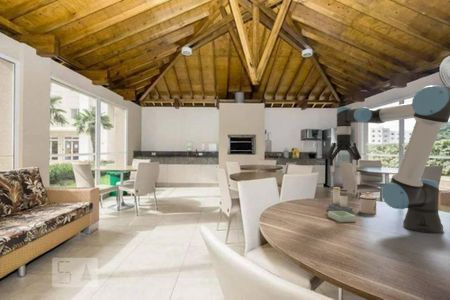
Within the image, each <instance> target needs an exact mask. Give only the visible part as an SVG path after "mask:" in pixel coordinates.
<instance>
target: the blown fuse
mask: <svg viewBox="0 0 450 300" xmlns="http://www.w3.org/2000/svg"><path fill="white" fill-rule="evenodd" d="M348 196H349V195H348V189H347V188H340V207H341V208H347V206H348Z"/></svg>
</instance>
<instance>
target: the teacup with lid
mask: <svg viewBox="0 0 450 300" xmlns="http://www.w3.org/2000/svg"><path fill="white" fill-rule="evenodd" d="M359 212H360V213H363V214H367V215H374V214H377V196H374V195H372V194H371V192H368V191H366V192H365V193H364V194H362V195H359Z"/></svg>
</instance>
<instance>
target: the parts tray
mask: <svg viewBox="0 0 450 300" xmlns="http://www.w3.org/2000/svg"><path fill="white" fill-rule="evenodd" d="M327 218H329V219H332V220H334V221H336V222H338V223H355V222H356V221H357V215H356V214H354V215H353V214H350V213H347V212H345V211H329V210H327Z"/></svg>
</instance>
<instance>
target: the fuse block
mask: <svg viewBox="0 0 450 300" xmlns="http://www.w3.org/2000/svg"><path fill="white" fill-rule="evenodd" d="M326 209H327V211H345V212H347V213H350V214H353V215H355V211H354V210H353V207H351V206H349V205H347V208H341V207H340V205H333V202H332V203H330V202H329V203H328V206H327V208H326Z"/></svg>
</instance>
